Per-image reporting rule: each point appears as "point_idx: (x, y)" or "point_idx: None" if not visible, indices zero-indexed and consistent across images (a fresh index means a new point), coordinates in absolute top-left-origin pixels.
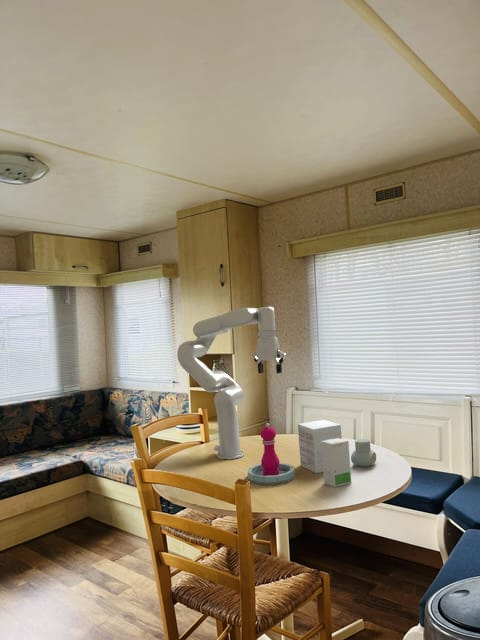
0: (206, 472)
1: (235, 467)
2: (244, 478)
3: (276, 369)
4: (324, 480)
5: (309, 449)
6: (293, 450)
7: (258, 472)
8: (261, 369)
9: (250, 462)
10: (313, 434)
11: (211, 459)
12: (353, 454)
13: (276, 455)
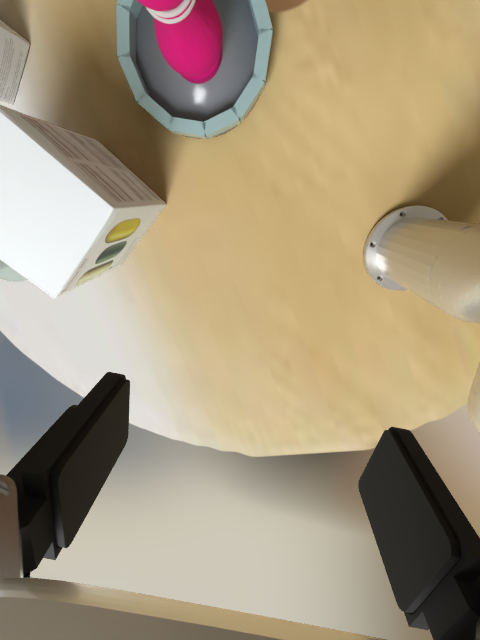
0: (438, 46)
1: (351, 135)
2: (279, 17)
3: (103, 410)
4: (20, 36)
5: (83, 147)
6: (239, 332)
7: (245, 62)
8: (387, 494)
9: (320, 199)
10: (8, 108)
11: (461, 202)
12: None
13: (156, 23)
